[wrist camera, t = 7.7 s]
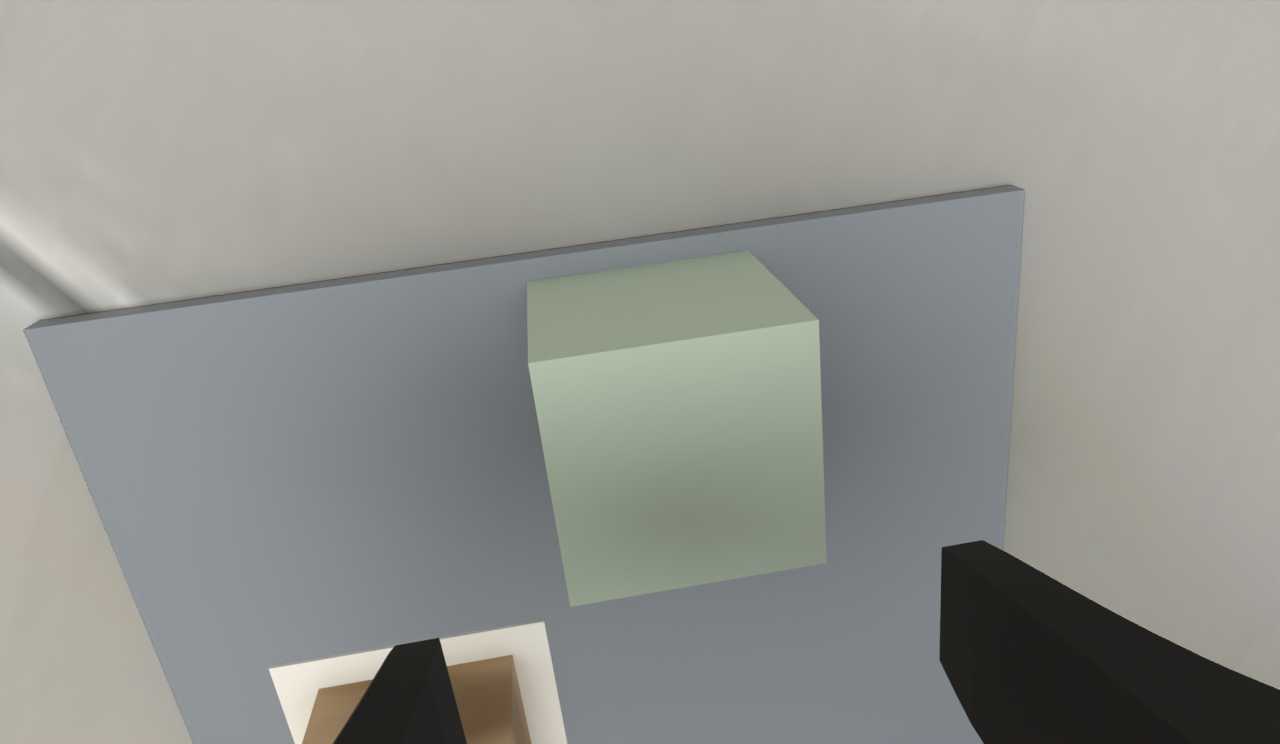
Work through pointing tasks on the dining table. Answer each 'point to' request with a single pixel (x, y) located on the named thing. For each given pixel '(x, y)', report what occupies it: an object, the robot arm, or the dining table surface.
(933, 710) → the grey mat
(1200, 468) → the dining table surface
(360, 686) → the oak block
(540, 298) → the green block
